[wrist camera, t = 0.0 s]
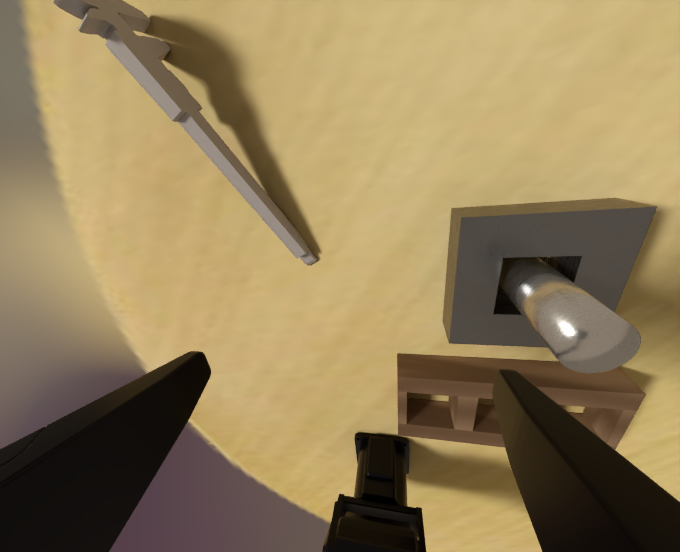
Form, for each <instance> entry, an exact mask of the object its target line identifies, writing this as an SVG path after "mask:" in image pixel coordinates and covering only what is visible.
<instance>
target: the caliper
mask: <svg viewBox="0 0 680 552" xmlns="http://www.w3.org/2000/svg"><path fill="white" fill-rule="evenodd" d="M53 3H54V4H56V5H57V6H58V7H59V8H61V9H63V10H64V11H66V12H68V13H70V14H72V15H73V16H75V17H77V18H79V19H82V20H83V21H82V22H81V24H80V26H79V28H78V29H79V31H80V32H82V33H87V34H97V35H99V36H101V37H102V38H105V39H106V40H107V42H106V44H105V45H106V46H107V48H108V49H109V50H110V51H111V52H112V53H113V55H114V56H115V57H116V58H117V59H118V60H119V61H120V62H121V64H122V65H123V66H124V67H125V68H126V69H127V70H128V71H129V73H130V74H131V75H132V76H133V77H134V78H135V79H136V80H137V81H138V83H139V84H140V85H141V86H142V87H143V88H144V89H145V90H146V92H147V93H148V94H149V95H150V96H151V97H152V98H153V99H154V101H155V102H156V103H157V104H158V105H159V106H160V107H161V108H162V110H163V111H164V112H165V113H166V114H167V115H168V116H169V117H170V119H171V120H172V121H175V122H178V123H179V124H180V125H181V126H182V127H183V128H184V130H185V131H186V132H187V133H188V134H189V135H190V136H191V138H192V139H193V140H194V141H195V142H196V143H197V144H198V146H199V147H200V148H201V149H202V150H203V151H204V153H205V154H206V155H207V156H208V157H209V158H210V159H211V161H212V162H213V163H214V164H215V165H216V166H217V167H218V169H219V170H220V171H221V172H222V173H223V174H224V175H225V177H226V178H227V179H228V180H229V181H230V182H231V184H232V185H233V186H234V187H235V188H236V189H237V190H238V192H239V193H240V194H241V195H242V196H243V197H244V198H245V200H246V201H247V202H248V203H249V204H250V205H251V206H252V208H253V209H254V210H255V211H256V212H257V213H258V215H259V216H260V217H261V218H262V219H263V220H264V221H265V223H266V224H267V225H268V226H269V227H270V228H271V229H272V231H273V232H274V233H275V234H276V235H277V236H278V237H279V239H280V240H281V241H282V242H283V243H284V244H285V245H286V247H287V248H288V249H289V250H290V251H291V252H292V253H293V255H294V256H295V257H296V258H299V257H300V258H301V259H302V261H303V262H304V263H305V264H307V265H310V264H312V263H314V262H315V261H317V259H316V257H315V256H314V255H313V254H312V252H311V251H310V250H309V249H308V248H309V247H308V246H307V244H306V243H305V241H304V240H303V238H302V237H301V236H300V234H299V233H298V231H297V230H296V229H295V228H294V227H293V225H292V224H291V223H290V222H289V220H288V219H287V218H286V217H285V216H284V214H283V213H282V212H281V211H280V210H279V208H278V207H277V206H276V205H275V203H274V202H273V201H272V200H271V199H270V197H269V196H268V195H267V194H266V193H265V191H264V190H263V189H262V188H261V187H260V185H259V184H258V183H257V182H256V180H255V179H254V178H253V177H252V176H251V174H250V173H249V172H248V171H247V169H246V168H245V167H244V166H243V165H242V163H241V162H240V161H239V160H238V158H237V157H236V156H235V155H234V154H233V152H232V151H231V150H230V149H229V147H228V146H227V145H226V144H225V143H224V141H223V140H222V139H221V138H220V136H219V135H218V134H217V133H216V132H215V130H214V129H213V128H212V127H211V125H210V124H209V123H208V122H207V121H206V119H205V118H204V117H203V116H202V114H201V113H200V112H199V111H200V110H201V109H202V107H201V105H200V104H199V103H198V102H197V101H196V100H195V99H194V98H193V97H192V96H191V94H190V93H189V92H188V90H187V89H186V87H185V86H184V85H183V84H182V83H181V82H180V81H179V80H178V78H177V77H176V76H175V75H174V74H173V73H172V72H171V71H170V70H168V69H167V68H166V67H165V66H164V64H163V63H162V62H161V61H162V60H163V59H164V58H165V56H166V55H167V54H168V52H169V51H170V50H171V49H170V47H169V46H168V45H167V43H166V42H165V41H160V40H159V39H156V38H151V37H146V36H138V35H136V34H135V33H134V32H133V31H138V32H142V33H144V32H145V30H146V29H147V27H148V26H149V24H150V23H151V21H150V19H149V18H148V17H147V16H146V15H145V14H144V13H143V12H142V11H140V10H138V9H136V8H135V7H133V6H131V5H129V4H128V3H126V2H124V1H122V0H54V2H53ZM132 30H133V31H132Z"/></svg>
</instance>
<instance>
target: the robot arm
mask: <svg viewBox="0 0 680 552" xmlns="http://www.w3.org/2000/svg"><path fill="white" fill-rule="evenodd" d="M210 375H211V369H210V366H209V364H208V361H207V359H206V356H205V354H204V353H203V352H198V351H191V352H188V353H186V354H184V355H182V356H180V357H178V358H176V359H174V360H172V361H170V362H169V363H167V364H165V365H163V366H161V367H159V368H157V369H155V370H153V371H151V372H149V373H147V374H145V375H143V376H141V377H140V378H138V379H136V380H134V381H132V382H130V383H128V384H126V385H124V386H122V387H120V388H118V389H116V390H114V391H113V392H111V393H109V394H107V395H105V396H103V397H101V398H99V399H97V400H95V401H93V402H91V403H89V404H87V405H86V406H83V407H82V408H80V409H78V410H76V411H74V412H72V413H70V414H68V415H66V416H64V417H62V418H60V419H58V420H57V421H55V422H53V423H51V424H49V425H47V427H43V428H41V429H39V430H37V431H35V432H33V433H31V434H29V435H27V436H25V437H23V438H22V439H20V440H18V441H16V442H14V443H12V444H10V445H8V446H6V447H4V448H2V449H0V552H109V551H110V549H111V548H112V546H113V544H114V543H115V541H116V539H117V538H118V536H119V534H120V533H121V531H122V529H123V528H124V526H125V524H126V523H127V521H128V520H129V518H130V516H131V514H132V513H133V511H134V510H135V508H136V506H137V505H138V503H139V501H140V500H141V498H142V496H143V495H144V493H145V491H146V490H147V488H148V486H149V485H150V483H151V482H152V480H153V478H154V477H155V475H156V473H157V472H158V470H159V468H160V466H161V465H162V463H163V462H164V460H165V458H166V457H167V455H168V453H169V452H170V450H171V449H172V447H173V445H174V443H175V442H176V440H177V439H178V437H179V435H180V434H181V432H182V430H183V428H184V427H185V425H186V424H187V422H188V420H189V418H190V416H191V414H192V412H193V410H194V408H195V406H196V404H197V402H198V400H199V398H200V396H201V394H202V392H203V390H204V388H205V386H206V384H207V382H208V380H209V378H210ZM492 397H493V402H494V406H495V410H496V413H497V417H498V421H499V425H500V429H501V433H502V436H503V440H504V444H505V448H506V452H507V455H508V459H509V462H510V465H511V468H512V471H513V474H514V477H515V479H516V482H517V485H518V487H519V490H520V493H521V495H522V498H523V501H524V503H525V506H526V509H527V511H528V514H529V517H530V519H531V522H532V525H533V527H534V530H535V533H536V535H537V538H538V541H539V543H540V546H541V549H542V552H680V502H679V501H678V500H677V499H675V498H674V497H673V496H672V495H670V494H669V493H668V492H667V491H665V490H664V489H663V488H662V487H660V486H659V485H658V484H657V483H655V482H654V481H653V480H652V479H650V478H649V477H648V476H647V475H645V474H644V473H643V472H642V471H640V470H639V469H638V468H637V467H635V466H634V465H633V464H632V463H631V462H629V461H628V460H627V459H626V458H624V457H623V456H622V455H621V454H619V453H618V452H617V451H616V450H614V449H613V448H612V447H611V446H609V445H608V444H607V443H606V442H604V441H603V440H602V439H601V438H599V437H598V436H597V435H596V434H594V433H593V432H592V431H591V430H589V429H588V428H587V427H586V426H584V425H583V424H582V423H581V422H580V421H578V420H577V419H576V418H575V417H573V416H572V415H571V414H570V413H568V412H567V411H566V410H565V409H563V408H562V407H561V406H560V405H558V404H557V403H556V402H555V401H553V400H552V399H551V398H550V397H548V396H547V395H546V394H545V393H543V392H542V391H541V390H540V389H538V388H537V387H536V386H535V385H534V384H532V383H531V382H530V381H529V380H527V379H526V378H525V377H524V376H522V375H521V374H520V373H519V372H517V371H515V370H507V369H499V370H497V372H496V376H495V381H494V385H493V390H492ZM355 446H356V454H357V462H358V467H357V476H356V485H355V493H354V497H349V496H344V494H339V497H338V501H336V502H335V505H334V511H333V517H332V521H331V525H330V528H329V531H328V534H327V537H326V540H325V543H324V546H323V552H426V546H425V537H424V527H423V517H422V508H419V507H416V508H413V507H407V484H406V474H408V473H409V441H408V440H407V439H404V438H396V437H387V436H379V435H370V434H362V433H356V434H355Z"/></svg>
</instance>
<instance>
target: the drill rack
mask: <svg viewBox="0 0 680 552" xmlns="http://www.w3.org/2000/svg"><path fill="white" fill-rule="evenodd" d="M397 367H398V435H403V436H411V437H420V438H428V439H437V440H446V441H454V442H463V443H471V444H480V445H489V446H497V447H505V444H504V440H503V436H502V433H501V429H500V425H499V421H498V417H497V413H496V410H495V406H489V405H477V404H478V398H484V399H493V397H492V390H493V385H494V381H495V376H496V372H497V370H499V369H507V370H515V371H517V372H519V373H520V374H521V375H522V376H524V377H525V378H526V379H527V380H529V381H530V382H531V383H532V384H534V385H535V386H536V387H537V388H538V389H540V390H541V391H542V392H543V393H545V394H546V395H547V396H548V397H550V398H551V399H552V400H553V401H555V402H556V403H557V404H558V405H570V406H582V407H585V409H584V411H583V414H582V413H570V412H568V413H570V414H571V415H572V416H573V417H575V418H576V419H577V420H578V421H580V422H581V423H582V424H583V425H584V426H586V427H587V428H588V429H589V430H591V431H592V432H593V433H594V434H596V435H597V436H598V437H599V438H601V439H602V440H603V441H604V442H606V443H607V444H608V445H609V446H611V447H612V448H613V449H614V450H615V449H616V447H617V446H618V444H619V442H620V440H621V438H622V437H623V435H624V433H625V431H626V429H627V428H628V426H629V424H630V422H631V420H632V419H633V417H634V415H635V413H636V411H637V410H638V408H639V406H640V404H641V402H642V401H643V399H644V397H645V395H646V394H645V393H644V392H643V391H642V390H641V389H640V388H639V387H638V386H637V385H636V384H635V383H634V382H633V381H632V380H631V379H629V378H628V377H627V376H626V375H625V374H624V373H623V372H622V371H621V370H620V369H619V368H618V367H617V368H614V369H612V370H609V371H605V372H599V373H581V372H576V371H573V370H570V369H568V368H566V367H565V366H563V365H562V364H561V363H560V362H552V361H532V360H513V359H493V358H473V357H454V356H434V355H414V354H397ZM407 392H410V393H422V394H435V395H447V396H449V401H448V402H442V401H431V400H419V399H408V398H407Z"/></svg>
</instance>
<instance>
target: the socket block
mask: <svg viewBox="0 0 680 552" xmlns="http://www.w3.org/2000/svg"><path fill="white" fill-rule="evenodd" d="M656 208H657V206H652V205H647V204H642V203H637V202H633V201H628V200H623V199H618V198H607V199H591V200H576V201H560V202H544V203H528V204H512V205H497V206H481V207H465V208H452V210H451V223H450V235H449V248H448V261H447V273H446V286H445V298H444V311H443V324H444V328H445V331H446V334H447V338H448V341H449V343H453V344H477V345H502V346H526V347H548V346H547V345H546V344H545V343H544V341H543V340H542V339H541V338H540V336H539V335H538V334H537V333H536V331H535V330H534V329H533V328H532V326H531V325H530V324H529V322H528V321H527V320H526V319H525V317H524V316H523V315H522V314H521V312H520V311H519V310H518V309H517V307H516V306H515V305H514V304H513V302H512V301H511V300H510V299H509V297H508V296H507V295H506V294H497V290H498V284H499V278H500V273H501V267H502V261H503V258H512V257H551V259H550V263H549V265H550V266H551V267H552V268H554V269H555V270H557V271H558V272H559V273H561V274H562V275H563V276H565V277H566V278H568V279H569V280H570V281H572V282H573V283H574V284H576V285H577V286H579V287H580V288H581V289H583V290H584V291H585V292H587V293H588V294H590V295H591V296H592V297H594V298H595V299H596V300H598V301H599V302H601V303H602V304H603V305H605V306H606V307H608V308H609V309H610V310H612V311H613V312H615V309H616V307H617V304H618V302H619V299H620V297H621V294H622V292H623V289H624V287H625V285H626V282H627V280H628V277H629V275H630V272H631V270H632V267H633V265H634V262H635V260H636V258H637V255H638V253H639V250H640V248H641V245H642V243H643V240H644V238H645V235H646V233H647V230H648V228H649V226H650V223H651V221H652V218H653V216H654V213H655V211H656Z"/></svg>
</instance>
